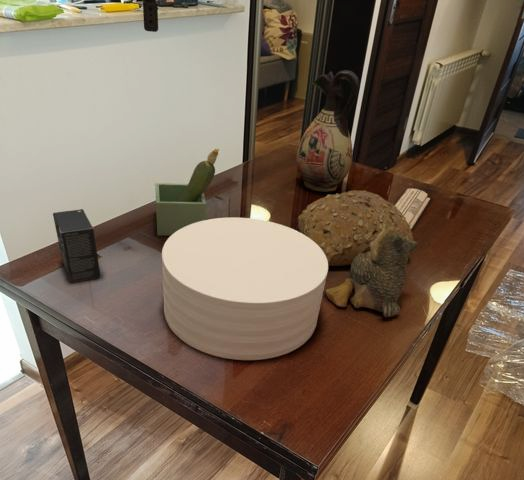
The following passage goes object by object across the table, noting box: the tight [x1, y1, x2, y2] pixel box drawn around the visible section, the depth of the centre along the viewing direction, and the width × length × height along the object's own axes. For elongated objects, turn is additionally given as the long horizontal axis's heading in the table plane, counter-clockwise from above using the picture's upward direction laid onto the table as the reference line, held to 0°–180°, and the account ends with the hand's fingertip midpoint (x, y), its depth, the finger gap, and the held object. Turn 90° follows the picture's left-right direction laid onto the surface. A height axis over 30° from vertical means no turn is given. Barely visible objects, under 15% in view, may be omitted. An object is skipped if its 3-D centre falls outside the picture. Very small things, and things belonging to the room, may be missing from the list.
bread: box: [297, 189, 414, 267], centre depth 108 cm, size 24×21×12 cm
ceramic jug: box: [295, 69, 360, 193], centre depth 128 cm, size 17×15×30 cm
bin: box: [154, 182, 207, 237], centre depth 109 cm, size 11×11×8 cm
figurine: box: [325, 229, 419, 318], centre depth 91 cm, size 14×15×15 cm
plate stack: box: [161, 217, 329, 361], centre depth 85 cm, size 28×28×12 cm
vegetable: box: [176, 148, 220, 202], centre depth 106 cm, size 4×4×20 cm
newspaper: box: [394, 187, 431, 230], centre depth 131 cm, size 24×7×2 cm, turn 153°
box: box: [52, 208, 101, 283], centre depth 90 cm, size 8×6×11 cm
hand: (150, 26), depth 80 cm, fingers open, 8 cm apart
